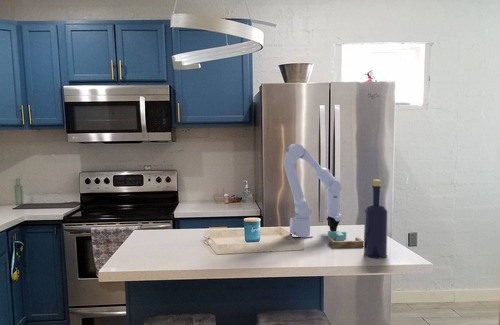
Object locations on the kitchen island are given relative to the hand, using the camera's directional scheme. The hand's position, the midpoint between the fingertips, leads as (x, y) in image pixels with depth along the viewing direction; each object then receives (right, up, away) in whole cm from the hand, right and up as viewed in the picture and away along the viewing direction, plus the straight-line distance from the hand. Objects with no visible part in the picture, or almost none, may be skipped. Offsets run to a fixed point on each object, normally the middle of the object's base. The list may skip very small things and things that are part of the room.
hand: (333, 232), depth 178 cm
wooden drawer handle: (+1, -2, -18) cm, 18 cm away
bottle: (+10, -3, -31) cm, 33 cm away
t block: (+1, -1, -8) cm, 8 cm away
